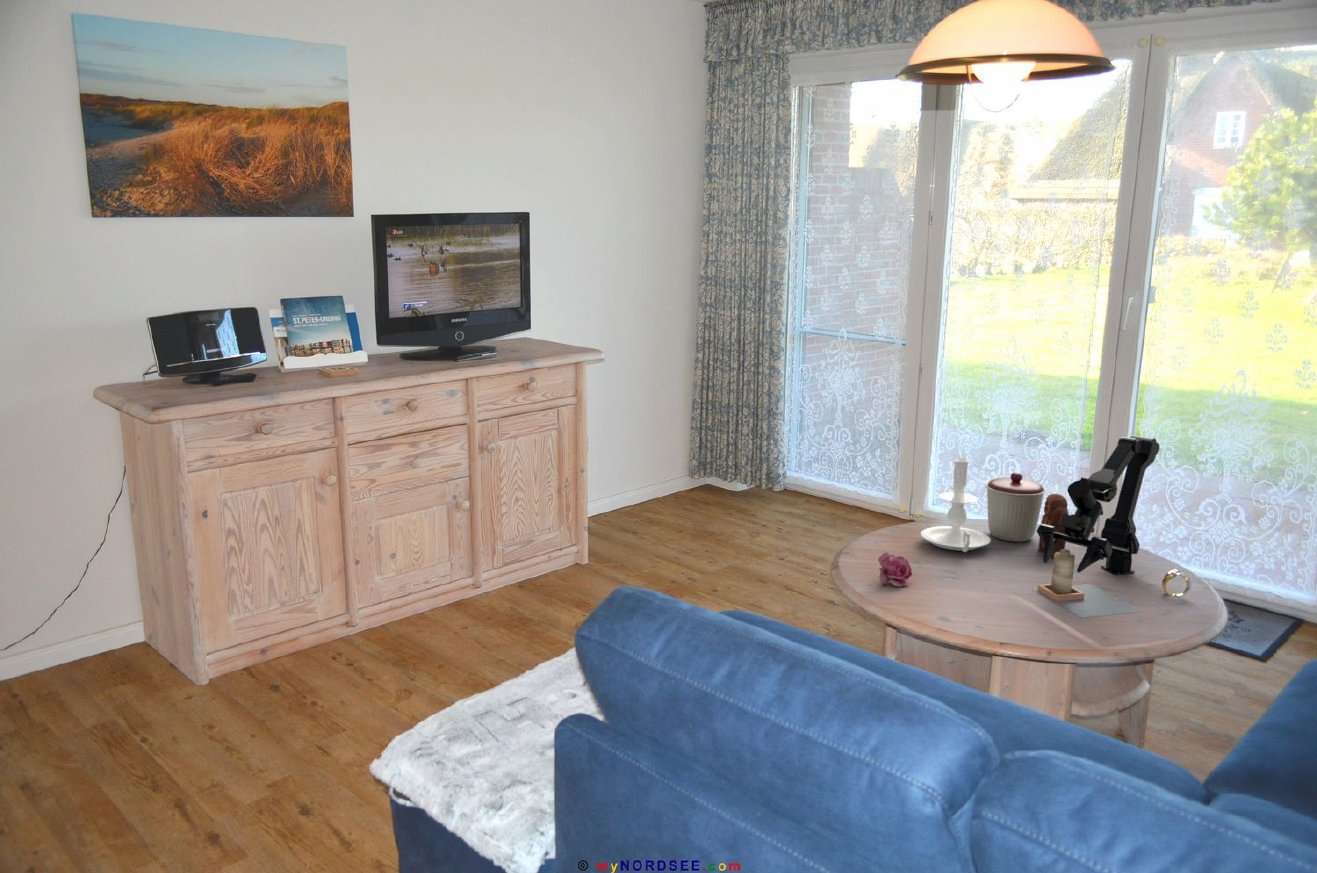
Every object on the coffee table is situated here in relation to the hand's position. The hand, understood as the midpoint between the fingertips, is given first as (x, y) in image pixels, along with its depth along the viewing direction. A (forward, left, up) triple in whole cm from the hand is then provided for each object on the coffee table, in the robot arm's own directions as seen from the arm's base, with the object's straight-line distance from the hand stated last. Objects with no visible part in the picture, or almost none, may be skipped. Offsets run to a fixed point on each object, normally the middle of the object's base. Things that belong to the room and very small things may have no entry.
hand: (1060, 567), depth 261 cm
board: (+4, +5, -9) cm, 11 cm away
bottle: (-1, +1, -8) cm, 8 cm away
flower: (-21, -36, -9) cm, 43 cm away
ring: (+6, +31, -9) cm, 33 cm away
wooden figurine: (-34, +22, -9) cm, 41 cm away
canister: (-50, +19, -9) cm, 54 cm away
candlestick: (-44, -4, -9) cm, 45 cm away
